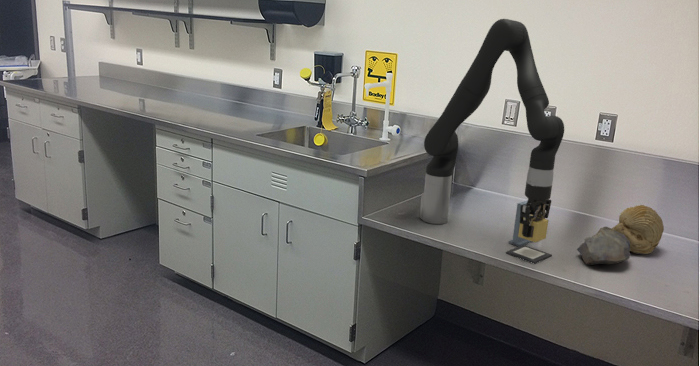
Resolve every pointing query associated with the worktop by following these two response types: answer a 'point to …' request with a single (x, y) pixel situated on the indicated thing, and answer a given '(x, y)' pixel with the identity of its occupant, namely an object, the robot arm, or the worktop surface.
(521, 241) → the screen
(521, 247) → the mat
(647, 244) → the fossil
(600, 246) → the stone
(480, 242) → the worktop surface
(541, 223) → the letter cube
